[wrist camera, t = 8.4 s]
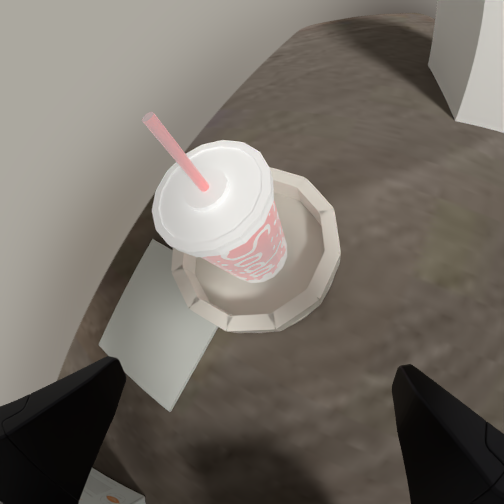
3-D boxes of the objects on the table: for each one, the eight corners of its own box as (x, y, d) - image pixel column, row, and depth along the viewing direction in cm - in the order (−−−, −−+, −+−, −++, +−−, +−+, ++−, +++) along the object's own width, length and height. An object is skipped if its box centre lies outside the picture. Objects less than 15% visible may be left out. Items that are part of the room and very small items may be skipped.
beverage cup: (224, 301, 20) (69, 223, 7) (214, 228, 22) (98, 108, 10) (307, 281, 19) (250, 143, 6) (286, 206, 21) (223, 46, 8)
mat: (171, 411, 19) (169, 411, 19) (100, 345, 23) (98, 344, 23) (240, 287, 21) (238, 286, 21) (154, 239, 25) (152, 238, 25)
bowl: (345, 326, 18) (347, 323, 15) (188, 334, 21) (168, 331, 18) (326, 179, 22) (324, 158, 19) (195, 201, 25) (179, 185, 22)
